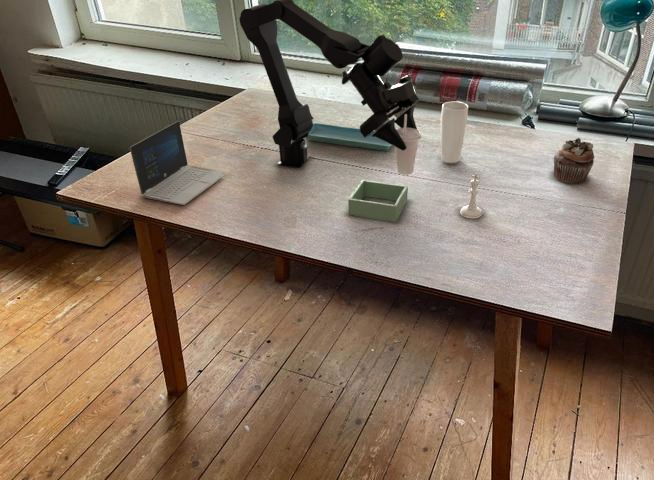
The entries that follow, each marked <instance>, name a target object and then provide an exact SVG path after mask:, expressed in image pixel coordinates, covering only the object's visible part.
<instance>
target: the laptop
mask: <svg viewBox="0 0 654 480" xmlns="http://www.w3.org/2000/svg"><path fill="white" fill-rule="evenodd" d="M129 151H130V156H131V159H132V163H133V168H134V171H135V175H136V178H137V183H138V186H139V190H140V194H141V195H142V198H145V199H151V200H155V201H159V202H160V201H161V202H165V203H170V204H177V205H182V206H185V205H187V204H188V203H189V202H191V201H192V200H193V199H194V198H196V197H197V196H199V195H200V194H201V193H203V192H204V191H205V190H207V189H208V188H210V187H211V186H212V185H214V184H215V183H217V182H218V181H219V180H220V179H221V178H223V177H224V176H226V175H227V174H228V173H227V172H225V171H219V170H215V169H209V168H204V167H199V166H194V165H188V160H187V155H186V154H187V153H186V149H185V145H184V140H183V134H182V129H181V124H180V121H179V120H176V121H174V122H172V123H170V124H169V125H167V126H165V127H164V128H161V129H159V130H158V131H155V132H154V133H152V134H151V135H149V136H147V137H145V138H143V139H141V140H139V141H138V142H136V143H134V144H132V145H130V146H129Z"/></svg>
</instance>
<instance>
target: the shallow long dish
mask: <svg viewBox="0 0 654 480" xmlns="http://www.w3.org/2000/svg"><path fill="white" fill-rule="evenodd" d="M374 133H375V131H373V132H372V134H370V135H369V136H367V137H366V138H364V137H363V135H362V134H361V132H360V128H355V127H348V126H341V125H334V124H327V123H321V122H313V127H312V129H311V131H310V132H309V135H308V137H306V138H305V140H307V141H314V142H320V143H325V144H326V143H327V144H333V145H339V146H340V145H341V146H347V147H354V148H360V149H361V148H363V149H369V150H377V151H382V152H387V151H389V149H390V148H391V147H392V146H393V145H392V144H390V143H388V142H386V141H384V140H382V139H379V138H377V137H372V135H373V134H374Z"/></svg>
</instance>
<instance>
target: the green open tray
mask: <svg viewBox="0 0 654 480" xmlns="http://www.w3.org/2000/svg"><path fill="white" fill-rule="evenodd" d="M408 190H409V186H408V185H402V184H394V183H390V182H389V183H388V182H381V181H375V180H367V179H362V180H361V181H360V183H359V184H358V185H357V186H356V188H355V189H354V191H353V192H352V194H351V195H350V196H349V197H348V200H347V202H348V215H349V216H356V217H361V218H367V219H374V220H380V221H387V222H392V223H397V221H398V220H399V218H400V215H401V213H402V211H403V210H404V208H405V206H406V204H407V203H408ZM364 197H368V198H375V199H382V200H387V201H395V203H394V204H390V203H384V202H378V201H370V200H363V198H364Z"/></svg>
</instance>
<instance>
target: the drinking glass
mask: <svg viewBox="0 0 654 480" xmlns="http://www.w3.org/2000/svg"><path fill="white" fill-rule="evenodd" d="M468 117H469V105H468V104H467V103H466V102H463V101H457V100H455V101H454V100H453V101H452V100H451V101H446V102H444V103H443V104H442V105H441V112H440V160H441V161H442V162H443V163H446V164H456V163H459V162H460V160H461V157H462V150H463V145H464V139H465V136H466V129H467V124H468Z"/></svg>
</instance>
